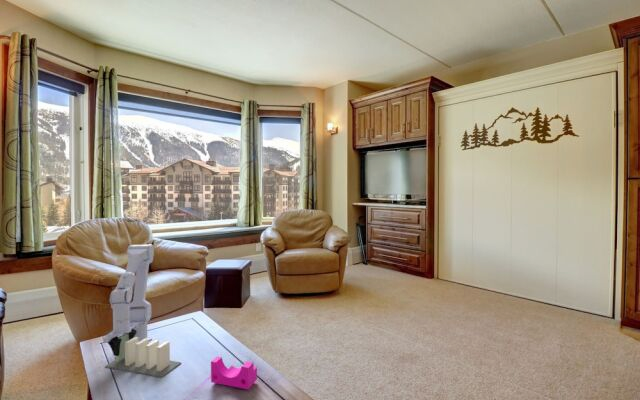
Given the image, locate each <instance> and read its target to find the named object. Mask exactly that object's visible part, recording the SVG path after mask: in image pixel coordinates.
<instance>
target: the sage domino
mask: <svg viewBox="0 0 640 400" xmlns="http://www.w3.org/2000/svg"><path fill="white" fill-rule="evenodd" d="M118 339H122V340H121V343H120V353H119V356H114V361H120V360H122V359H124V358H125V342H127V341H129V334H128V333H125V334H122V335H120V336H118Z"/></svg>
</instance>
